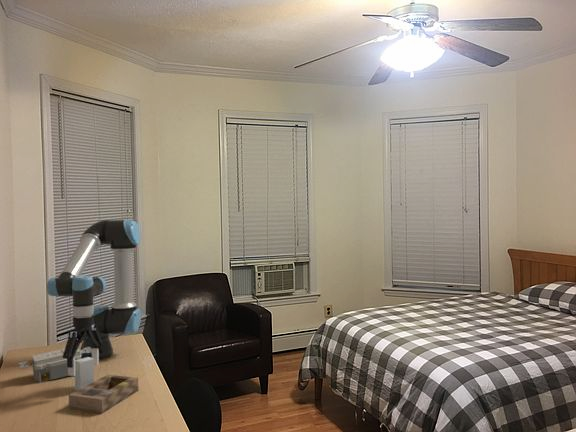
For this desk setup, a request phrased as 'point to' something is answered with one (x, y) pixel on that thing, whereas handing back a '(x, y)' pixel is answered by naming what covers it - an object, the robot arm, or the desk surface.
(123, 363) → the desk surface
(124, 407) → the desk surface
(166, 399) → the desk surface
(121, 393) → the socket panel
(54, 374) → the electrical outlet
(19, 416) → the desk surface
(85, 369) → the skincare box
